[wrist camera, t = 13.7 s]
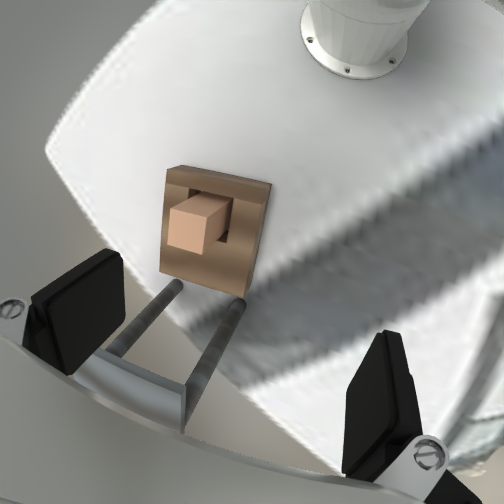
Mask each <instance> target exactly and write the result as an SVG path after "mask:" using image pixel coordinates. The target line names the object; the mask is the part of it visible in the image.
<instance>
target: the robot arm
mask: <svg viewBox="0 0 504 504" xmlns="http://www.w3.org/2000/svg"><path fill="white" fill-rule="evenodd" d="M482 1H484V2H485V3H487V4H489V5H490V6H492V7H493V8H495V9H496V10H498V11H499V12H501V13H502V14H503V15H504V0H482ZM429 2H430V0H308V4H307V5H306V7H305V9H304V10H303V13H302V16H301V22H300V30H301V36H302V39H303V42H304V44H305V46H306V48H307V50H308V52H309V53H310V54H311V56H312V57H313V58H314V59H315V60H316V61H317V62H318V63H319V64H320V65H321V66H323V67H324V68H326V69H327V70H329V71H331V72H333V73H335V74H337V75H340V76H343V77H346V78H351V79H358V80H363V79H373V78H378V77H381V76H383V75H385V74H388V73H389V72H390V71H392V70H393V69H395V68H396V67H397V66H398V65H399V63H400V62H401V61H402V59H403V58H404V56H405V53H406V51H407V46H408V34H407V31H408V29H409V28H410V27H411V25H412V24H413V23H414V22H415V20H416V19H417V18H418V16H419V15H420V14H421V13H422V11H423V10H424V8H425V7H426V6H427V5H428V3H429ZM310 40H311V41H313V42H312V43H309V41H310ZM390 60H391V61H392V62H393V64H391V63H390V62H389V61H390ZM345 70H349V71H350V73H346V72H345ZM31 300H32V304H31V305H30V306H29V304H28V303H27V301H26V300H25V299H23V298H20V297H9V298H6V299H4V300H2V301H0V504H482V501H481V500H480V499H479V498H478V497H477V496H476V495H475V494H474V493H473V492H471V491H470V490H469V489H468V488H467V487H466V486H465V485H464V484H463V483H461V482H460V481H459V480H458V479H457V478H456V477H455V476H454V475H453V474H452V473H450V472H449V471H448V470H447V466H448V464H449V453H448V450H447V448H446V446H445V444H444V443H443V442H442V441H441V440H439V439H438V438H436V437H434V436H430V435H423V431H422V425H421V418H420V412H419V407H418V401H417V396H416V390H415V385H414V380H413V377H412V375H411V374H410V373H409V368H408V363H407V359H406V354H405V350H404V346H403V342H402V337H401V334H400V333H397V332H393V331H389V330H384V331H383V332H382V333H377V334H376V336H375V338H374V340H373V342H372V344H371V346H370V348H369V350H368V351H367V353H366V355H365V357H364V359H363V361H362V363H361V365H360V366H359V368H358V370H357V372H356V374H355V375H354V377H353V379H352V381H351V382H350V384H349V386H348V389H347V392H346V411H345V431H344V446H343V458H342V473H343V474H346V477H345V478H344V477H339V476H332V475H327V474H321V473H316V472H311V471H306V470H301V469H296V468H292V467H288V466H284V465H280V464H276V463H271V462H268V461H264V460H260V459H256V458H253V457H249V456H245V455H242V454H239V453H236V452H232V451H229V450H226V449H223V448H220V447H217V446H214V445H211V444H208V443H206V442H203V441H200V440H197V439H195V438H192V437H189V436H187V435H184V434H182V433H179V432H177V431H174V430H172V429H169V428H167V427H165V426H162V425H160V424H158V423H155V422H153V421H151V420H149V419H146V418H144V417H142V416H140V415H138V414H136V413H134V412H132V411H130V410H128V409H125V408H123V407H122V406H120V405H118V404H116V403H114V402H112V401H110V400H108V399H106V398H104V397H102V396H101V395H99V394H97V393H95V392H93V391H92V390H90V389H88V388H86V387H85V386H83V385H81V384H79V383H78V382H76V381H74V380H73V379H71V378H69V377H68V375H72V374H74V373H75V372H76V371H77V370H78V368H79V367H80V366H81V365H82V364H83V363H84V362H85V361H86V360H87V359H88V358H89V357H90V356H91V355H92V354H93V353H94V352H95V351H96V350H97V349H98V348H99V347H100V346H101V345H102V344H103V343H104V341H106V340H107V338H108V337H109V336H110V335H111V334H112V333H113V332H114V331H115V330H116V329H117V328H118V327H119V326H120V325H121V324H122V323H123V322H124V320H125V315H126V314H125V297H124V271H123V259H122V257H121V256H120V253H119V252H116V251H113V250H110V249H107V248H105V249H103V250H101V251H100V252H98V253H97V254H95V255H93V256H91V257H90V258H88V259H87V260H85V261H84V262H82V263H80V264H79V265H77V266H76V267H74V268H73V269H71V270H70V271H68V272H66V273H65V274H64V275H62V276H60V277H59V278H57V279H56V280H54V281H53V282H51V283H50V284H48V285H47V286H46V287H44V288H43V289H41V290H40V291H38V292H37V293H35V294H34V295H33V296H31Z"/></svg>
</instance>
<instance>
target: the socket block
mask: <svg viewBox="0 0 504 504" xmlns="http://www.w3.org/2000/svg"><path fill="white" fill-rule="evenodd" d="M270 189H271V184H269V183H265V182H261V181H256V180H252V179H247V178H243V177H238V176H234V175H229V174H224V173H220V172H215V171H210V170H205V169H200V168H194V167H189V166H184V165H180V166H177V167H173V168H170V169H167V174H166V183H165V193H164V204H163V217H162V230H161V246H160V267H159V272H162V273H165V274H168V275H171V276H174V277H177V278H180V279H183V280H186V281H189V282H193V283H196V284H199V285H202V286H205V287H208V288H212V289H215V290H218V291H222V292H225V293H228V294H231V295H235V296H238V297H241V298H243V297H244V295H245V294H246V292H247V290H248V288H249V286H250V284H251V280H252V276H253V271H254V266H255V261H256V256H257V252H258V247H259V242H260V237H261V232H262V227H263V223H264V218H265V213H266V208H267V203H268V198H269V193H270ZM201 191H205V192H209V193H214V194H218V195H222V196H227V197H231V198H234V202H233V208H232V214H231V220H230V226H229V231H228V230H227V231H226V232H224V233H223V234H222V235H221V236H220V237H219V238H218V239H217V240H216V241H215V242H214V243H213V244H212V245H211V246H210V247H209V248H208V249H207V250H206V251H205V252H204V253H203V254H202V255H201V254H198V253H194V252H191V251H187V250H184V249H181V248H177V247H174V246H170V245H167V242H168V230H169V218H170V208H172V207H174V206H176V205H178V204H180V203H182V202H183V201H185V200H187V199H189V198H191V197H193V196H195V195H197V194H199V193H201ZM182 288H183V285H182V283H181V282H180V281H179V280H177V279H174V280H172V281H171V282H170V283H169V284H168V285H167V286H166V287H165V288H164V289H163V290H162V291H161V292H160V293H159V294H158V295H157V296H156V297H155V298H154V299H153V300H152V301H151V302H150V303H149V305H147V307H145V308H144V310H142V312H141V313H140V314H139V315H138V316H137V317H136V318H135V319H134V320H133V321H132V322H131V323H130V324H129V325H128V326H127V327H126V328H125V329H124V330H123V331H122V332H121V333H120V334H119V335H118V336H117V337H116V338H115V340H114V341H113V342H112V343H111V344H110V345H109V346H108V347H107V348H106V349H105V350H103V349H101V348H98V349H97V350H96V351H95V352H94V353H93V354H92V355H91V356H90V357H89V358H88V359H87V360H86V361H85V362H84V363H83V364H82V365H81V366H80V367H79V368H78V370H77V371H76V372H75V373H74V374H73V376H74V379H75V381H76V382H78V383H79V384H81V385H83V386H85V387H86V388H88V389H90V390H92V391H93V392H95V393H97V394H99V395H101V396H102V397H104V398H106V399H108V400H110V401H112V402H114V403H116V404H118V405H120V406H122V407H123V408H125V409H128V410H130V411H132V412H134V413H136V414H138V415H140V416H142V417H144V418H146V419H149V420H151V421H153V422H155V423H158V424H160V425H162V426H165V427H167V428H169V429H172V430H174V431H177V432H179V433H182V434H184V429H185V426H186V424H187V422H188V420H189V418H190V416H191V414H192V413H193V411H194V409H195V407H196V405H197V403H198V401H199V399H200V397H201V395H202V393H203V391H204V389H205V387H206V385H207V383H208V381H209V380H210V378H211V375H212V374H213V372H214V370H215V368H216V366H217V364H218V362H219V360H220V358H221V356H222V354H223V352H224V350H225V348H226V346H227V344H228V342H229V340H230V338H231V336H232V334H233V332H234V330H235V328H236V326H237V324H238V322H239V320H240V318H241V316H242V314H243V312H244V310H245V308H246V303H245V302H244V301H243V300H241V299H235V300H234V301H233V303H232V305H231V306H230V308H229V310H228V312H227V313H226V315H225V317H224V318H223V320H222V322H221V324H220V325H219V327H218V329H217V331H216V332H215V334H214V336H213V337H212V339H211V341H210V343H209V344H208V346H207V348H206V349H205V351H204V353H203V355H202V356H201V358H200V360H199V362H198V363H197V365H196V367H195V368H194V370H193V372H192V373H191V375H190V377H189V378H188V380H187V382H186V384H185V385H182V384H180V383H177V382H175V381H172V380H170V379H167V378H165V377H162V376H160V375H157V374H155V373H153V372H150V371H148V370H146V369H143V368H141V367H139V366H137V365H135V364H132V363H130V362H128V361H126V360H124V359H122V357H123V355H124V354H125V353H126V352H127V351H128V350H129V349H130V347H131V346H132V345H133V344H134V343H135V342H136V341H137V339H138V338H139V337H140V336H141V335H142V334H143V333H144V331H145V330H146V329H147V328H148V327H149V326H150V325H151V324H152V322H153V321H154V320H155V319H156V318H157V317H158V316H159V314H160V313H161V312H162V311H163V310H164V309H165V308H166V307H167V306H168V304H169V303H170V302H171V301H172V300H173V299H174V298H175V297H176V295H177V294H178V293H179V292H180V291H181V290H182Z"/></svg>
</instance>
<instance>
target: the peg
mask: <svg viewBox="0 0 504 504" xmlns="http://www.w3.org/2000/svg"><path fill="white" fill-rule="evenodd" d="M233 202H234V198H231V197H227V196H222V195H218V194H214V193H209V192H205V191H203V192H201V193H199V194H197V195H195V196H193V197H191V198H189V199H187V200H185V201H183V202H182V203H180V204H178V205H176V206H174V207H172V208H170V218H169V230H168V242H167V245H170V246H174V247H177V248H181V249H184V250H187V251H191V252H194V253H198V254H201V255H202V254H203V253H204V252H205V251H206V250H207V249H208V248H209V247H210V246H211V245H212V244H213V243H214V242H215V241H216V240H217V239H218V238H219V237H220V236H221V235H222V234H223V233H224V232H226V231H227V230H228V229H229V226H230V220H231V214H232V208H233Z"/></svg>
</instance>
